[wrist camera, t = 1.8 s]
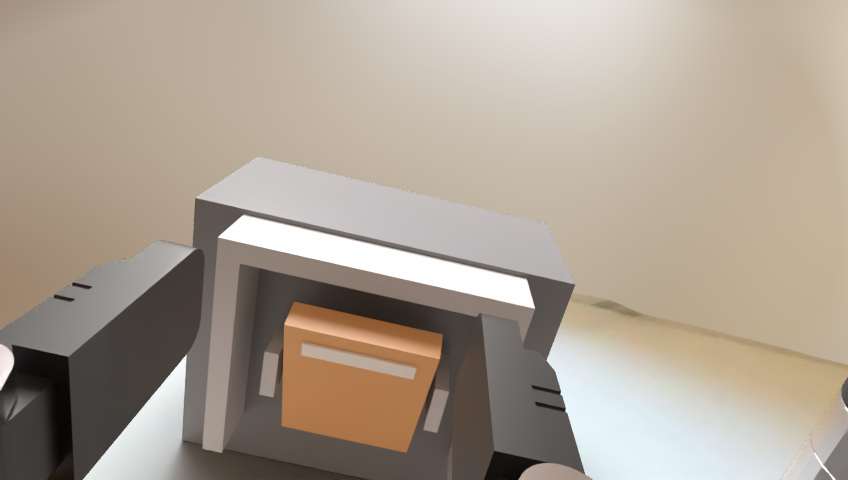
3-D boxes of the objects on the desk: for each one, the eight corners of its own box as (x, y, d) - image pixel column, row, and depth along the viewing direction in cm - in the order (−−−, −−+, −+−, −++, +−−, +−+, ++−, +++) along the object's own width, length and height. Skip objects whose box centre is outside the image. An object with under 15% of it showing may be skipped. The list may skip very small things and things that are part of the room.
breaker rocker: (411, 429, 34) (444, 335, 27) (407, 455, 33) (441, 362, 26) (288, 403, 34) (292, 301, 27) (279, 427, 32) (281, 326, 26)
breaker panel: (483, 409, 46) (546, 223, 39) (494, 551, 33) (589, 315, 26) (238, 355, 45) (258, 156, 38) (155, 480, 33) (162, 219, 26)
